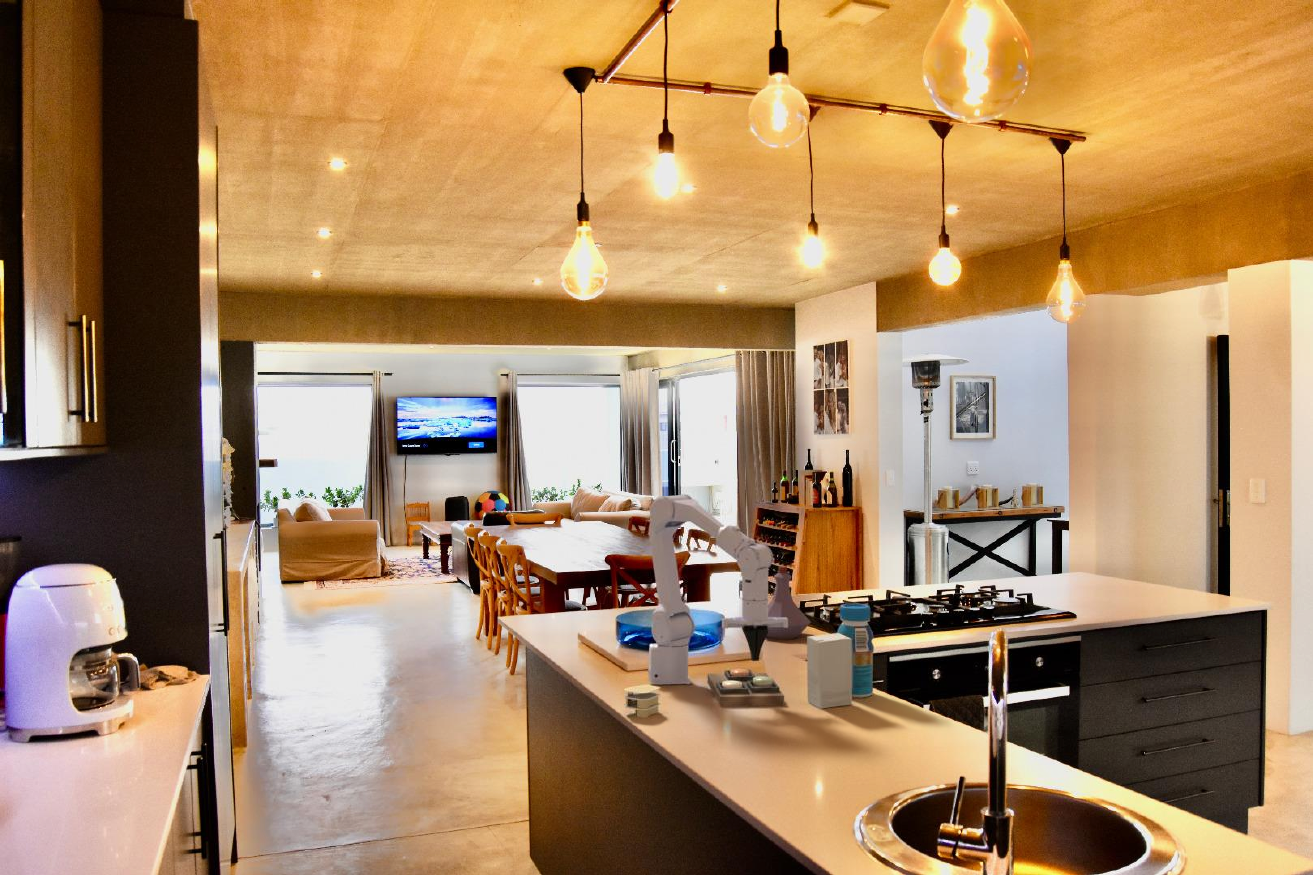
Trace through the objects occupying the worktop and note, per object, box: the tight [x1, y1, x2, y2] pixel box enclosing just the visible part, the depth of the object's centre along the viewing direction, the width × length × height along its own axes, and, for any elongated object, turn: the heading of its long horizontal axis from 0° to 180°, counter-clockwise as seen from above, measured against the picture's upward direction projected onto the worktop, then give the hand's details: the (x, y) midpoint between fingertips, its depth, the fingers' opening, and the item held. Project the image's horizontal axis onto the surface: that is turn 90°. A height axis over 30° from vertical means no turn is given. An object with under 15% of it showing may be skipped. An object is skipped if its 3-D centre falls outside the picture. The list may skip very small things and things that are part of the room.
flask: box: [763, 565, 812, 640], centre depth 286 cm, size 16×16×20 cm
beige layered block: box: [623, 684, 662, 718], centre depth 207 cm, size 10×9×6 cm
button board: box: [707, 669, 785, 707], centre depth 223 cm, size 14×20×3 cm
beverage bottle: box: [836, 602, 875, 699], centre depth 223 cm, size 8×8×20 cm
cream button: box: [722, 681, 742, 689], centre depth 218 cm, size 4×4×1 cm
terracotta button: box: [730, 668, 749, 676], centre depth 229 cm, size 4×4×1 cm
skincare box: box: [806, 632, 853, 710], centre depth 215 cm, size 8×6×15 cm
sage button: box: [753, 676, 774, 687], centre depth 220 cm, size 4×4×1 cm
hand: (754, 659), depth 219 cm, fingers closed
